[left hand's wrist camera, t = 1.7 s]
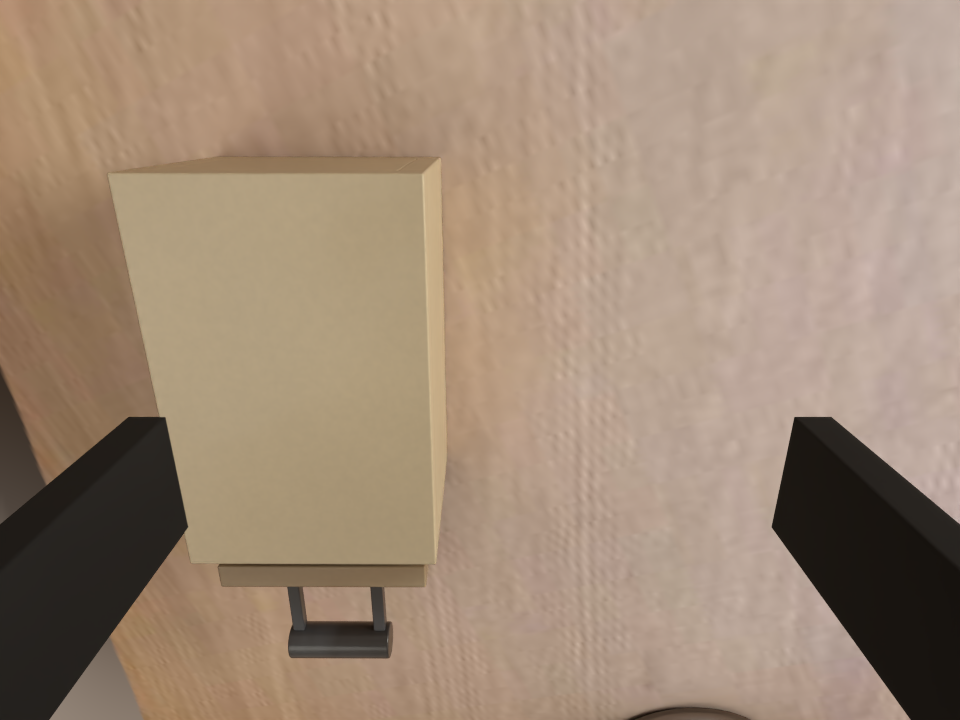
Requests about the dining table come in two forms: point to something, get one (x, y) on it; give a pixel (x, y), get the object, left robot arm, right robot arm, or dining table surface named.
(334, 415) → the cabinet
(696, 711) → the right robot arm
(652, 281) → the dining table surface
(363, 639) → the drawer
